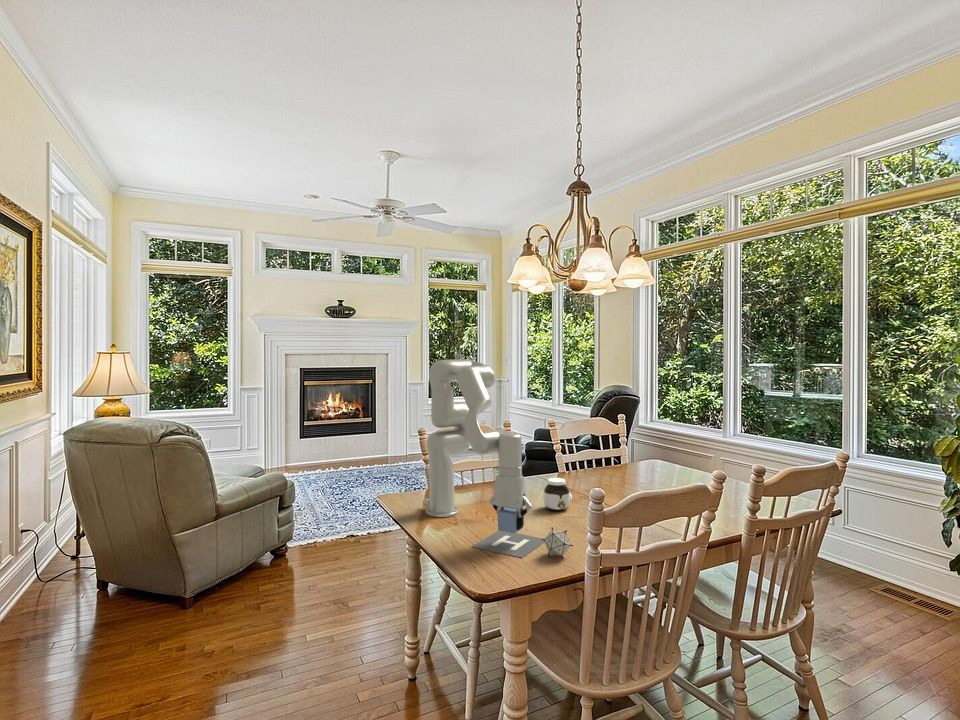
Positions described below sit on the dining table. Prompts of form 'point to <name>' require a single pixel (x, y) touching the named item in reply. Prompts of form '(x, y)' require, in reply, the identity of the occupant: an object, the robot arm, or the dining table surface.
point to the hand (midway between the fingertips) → (510, 526)
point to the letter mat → (510, 543)
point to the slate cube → (507, 520)
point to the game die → (557, 542)
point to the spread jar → (557, 495)
